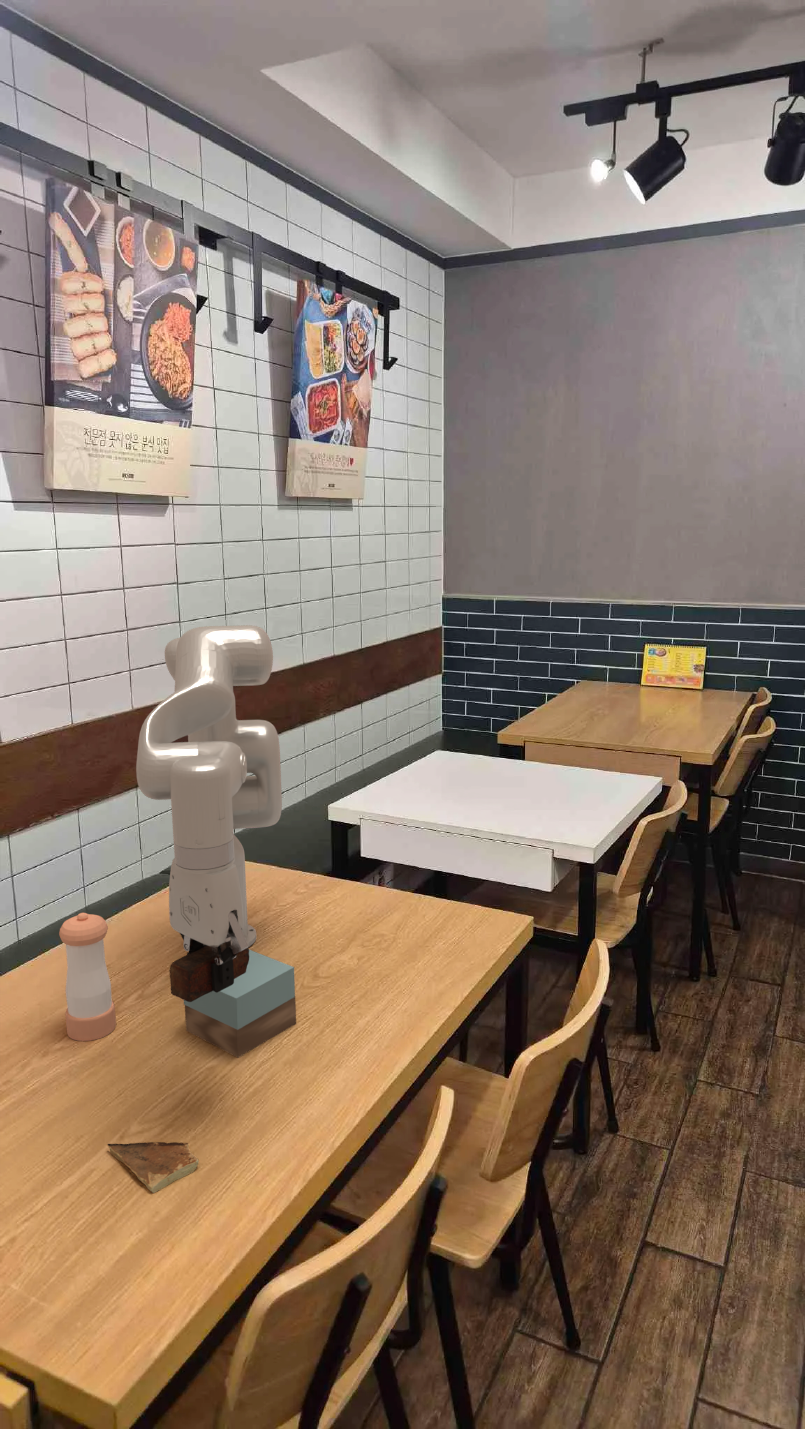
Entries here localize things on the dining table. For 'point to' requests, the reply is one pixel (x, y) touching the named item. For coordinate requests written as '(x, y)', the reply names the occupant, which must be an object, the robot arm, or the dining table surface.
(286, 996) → the tower top
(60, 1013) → the dining table surface
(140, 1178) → the shard
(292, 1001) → the tower base
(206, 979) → the brick
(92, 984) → the salt shaker
